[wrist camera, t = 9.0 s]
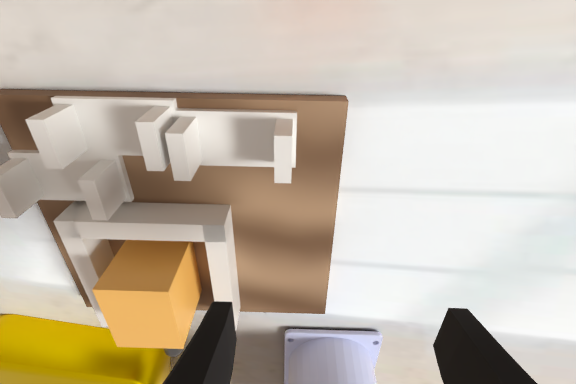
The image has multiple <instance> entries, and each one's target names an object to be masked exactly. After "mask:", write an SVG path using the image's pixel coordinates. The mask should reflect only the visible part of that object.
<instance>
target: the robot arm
mask: <svg viewBox="0 0 576 384" xmlns="http://www.w3.org/2000/svg"><path fill="white" fill-rule="evenodd" d="M382 339H383V337H382V334H381V333H380V332H377V331H344V330H311V329H288V330H286V331H285V349H284V384H377V382H376V377H375V372H374V369H375V365H376V362H377V358H378V354H379V351H380V347H381V343H382ZM235 347H236V331H235V322H234V314H233V305H232V302H221V301H214V302H212V303H211V305H210V307H209V309H208V311H207V313H206V315H205V316H204V318H203V320H202V322H201V324H200V326H199V327H198V329H197V331H196V333H195V334H194V336H193V338H192V339H191V341H190V343H189V344H188V346H187V347H186V349H185V351H184V352H183V354H182V355H181V357H180V358H179V360H178V362H177V363H176V365H175V366H174V368H173V369H172V371H171V372H170V373H169V375H168V376H167V378H166V379H165V381H164V382H163V383H162V384H230V379H231V375H232V370H233V363H234V355H235ZM433 347H434V351H435V355H436V359H437V363H438V366H439V370H440V374H441V377H442V380H443V383H444V384H537V383H536V382H535V381H534V380H533V379H532V378H531V377H530V376H529V375H528V374H527V373H526V372H525V371H524V370H523V369H522V368H521V366H520V365H519V364H518V363H517V362H516V361H515V360H514V359H513V358H512V357H511V356H510V355H509V354H508V353H507V352H506V351H505V349H504V348H503V347H502V346H501V345H500V344H499V343H498V342H497V341H496V340H495V339H494V338H493V336H492V335H491V334H490V333H489V332H488V331H487V330H486V329H485V328H484V327H483V325H482V324H481V323H480V322H479V321H478V320H477V319H476V318H475V317H474V316H473V314H472V313H471V312H470V311H469V310H468V309H461V308H448V311H447V313H446V316H445V318H444V320H443V323H442V325H441V328H440V330H439V333H438V335H437V337H436V340H435V342H434V345H433Z"/></svg>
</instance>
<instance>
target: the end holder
mask: <svg viewBox="0 0 576 384" xmlns="http://www.w3.org/2000/svg"><path fill="white" fill-rule="evenodd" d="M53 222H54V224H55V226H56V229H57V231H58V233H59V235H60V237H61V239H62V242H63V244H64V246H65V248H66V250H67V253H68V255H69V257H70V259H71V261H72V263H73V266H74V268H75V270H76V272H77V274H78V276H79V279H80V281H81V283H82V285H83V287H84V289H85V292H86V294H87V296H88V298H89V300H90V303H91V305H92V307H93V309H94V311H95V313H96V316H97V318H98V320H99V322H100V324H101V326H102V327H108V325H107V323H106V320H105V318H104V316H103V313H102V311H101V309H100V307H99V304H98V302H97V300H96V298H95V295H94V293H93V291H92V289H93V288H94V286H95V285H96V283H97V282H98V280H99V279H100V277H101V276H102V274H103V273H104V271H105V270H106V269H107V267H108V266H109V264H110V263H111V261H112V260H113V258H114V255H113V252H112V249H111V247H110V244H109V241H108V239H116V240H154V241H192V242H205V246H206V252H207V258H208V265H209V271H210V277H211V284H212V290H213V296H214V301H221V302H232V305H233V314H234V322H235V331H236V329H237V324H238V318H239V313H240V296H239V286H238V276H237V266H236V255H235V245H234V235H233V225H232V214H231V205H220V204H179V203H139V202H123V203H122V204H121V205H120V206H119V208H118V209H117V210H116V211H115V213H114V214H113V215H112V216H111V217H110V219H109V220H108V221H106V220H92V217H91V214H90V212H89V209H88V206H87V204H86V201H74V202H73V203H72V204H70V205H69V206H68V207H67V208H66V209H65V210H64V211H63V212H62V213H61V214H60V215H59V216H58V217H57V218H56V219H55V220H54V221H53Z"/></svg>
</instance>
